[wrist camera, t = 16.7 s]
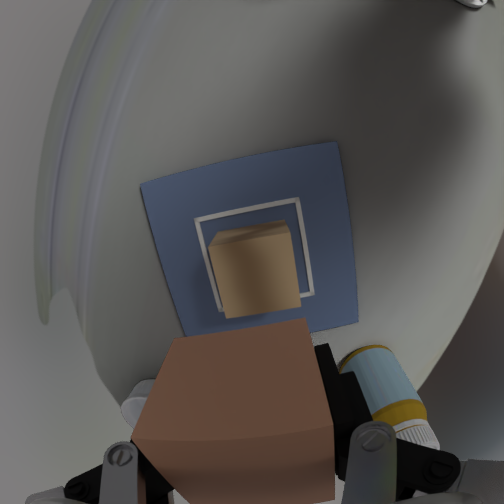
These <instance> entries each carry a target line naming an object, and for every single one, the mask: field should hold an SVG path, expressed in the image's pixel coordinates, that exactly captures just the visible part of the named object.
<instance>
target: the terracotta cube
mask: <svg viewBox="0 0 504 504" xmlns="http://www.w3.org/2000/svg"><path fill="white" fill-rule="evenodd" d="M131 439H132V441H133V442H134V443H135V444H136V446H137V447H138V448H139V449H140V451H141V452H142V453H143V454H144V455H145V457H146V458H147V459H148V460H149V461H150V462H151V464H152V465H153V466H154V467H155V468H156V469H157V470H158V472H159V473H160V474H161V475H162V476H163V477H164V478H165V479H166V480H167V481H168V482H169V483H170V484H171V485H172V487H173V488H174V489H176V491H177V492H178V493H179V494H180V495H181V496H183V498H184V499H186V500H187V501H188V502H189V503H190V504H314V503H320V502H325V501H330V500H335V456H334V428H333V421H332V417H331V413H330V409H329V405H328V401H327V397H326V393H325V389H324V385H323V381H322V377H321V373H320V370H319V366H318V362H317V358H316V354H315V351H314V347H313V343H312V339H311V336H310V332H309V329H308V325H307V321H306V318H305V317H304V318H300V319H294V320H289V321H284V322H279V323H273V324H268V325H262V326H256V327H250V328H244V329H238V330H232V331H225V332H218V333H211V334H204V335H196V336H188V337H180V338H174V340H173V342H172V344H171V346H170V349H169V351H168V353H167V355H166V357H165V360H164V362H163V364H162V366H161V368H160V371H159V373H158V375H157V377H156V380H155V382H154V384H153V386H152V389H151V391H150V393H149V396H148V398H147V400H146V402H145V405H144V407H143V409H142V412H141V414H140V416H139V419H138V421H137V423H136V426H135V428H134V431H133V433H132V435H131Z"/></svg>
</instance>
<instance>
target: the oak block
mask: <svg viewBox="0 0 504 504" xmlns="http://www.w3.org/2000/svg"><path fill="white" fill-rule="evenodd" d="M208 249H209V253H210V257H211V261H212V265H213V269H214V273H215V277H216V281H217V285H218V289H219V293H220V297H221V301H222V305H223V308H224V312H225V316H226V319H227V318H234V317H241V316H248V315H254V314H261V313H267V312H273V311H279V310H285V309H290V308H296V307H301V300H300V293H299V286H298V279H297V272H296V266H295V259H294V253H293V246H292V240H291V234H290V231H289V228H288V226H287V224H286V222H285V219H284V220H279V221H273V222H267V223H262V224H256V225H251V226H245V227H240V228H234V229H229V230H224V231H219V232H217V234H216V235H215V237H214V238H213V240H212V242H211V243H210V245H209V246H208Z"/></svg>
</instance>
